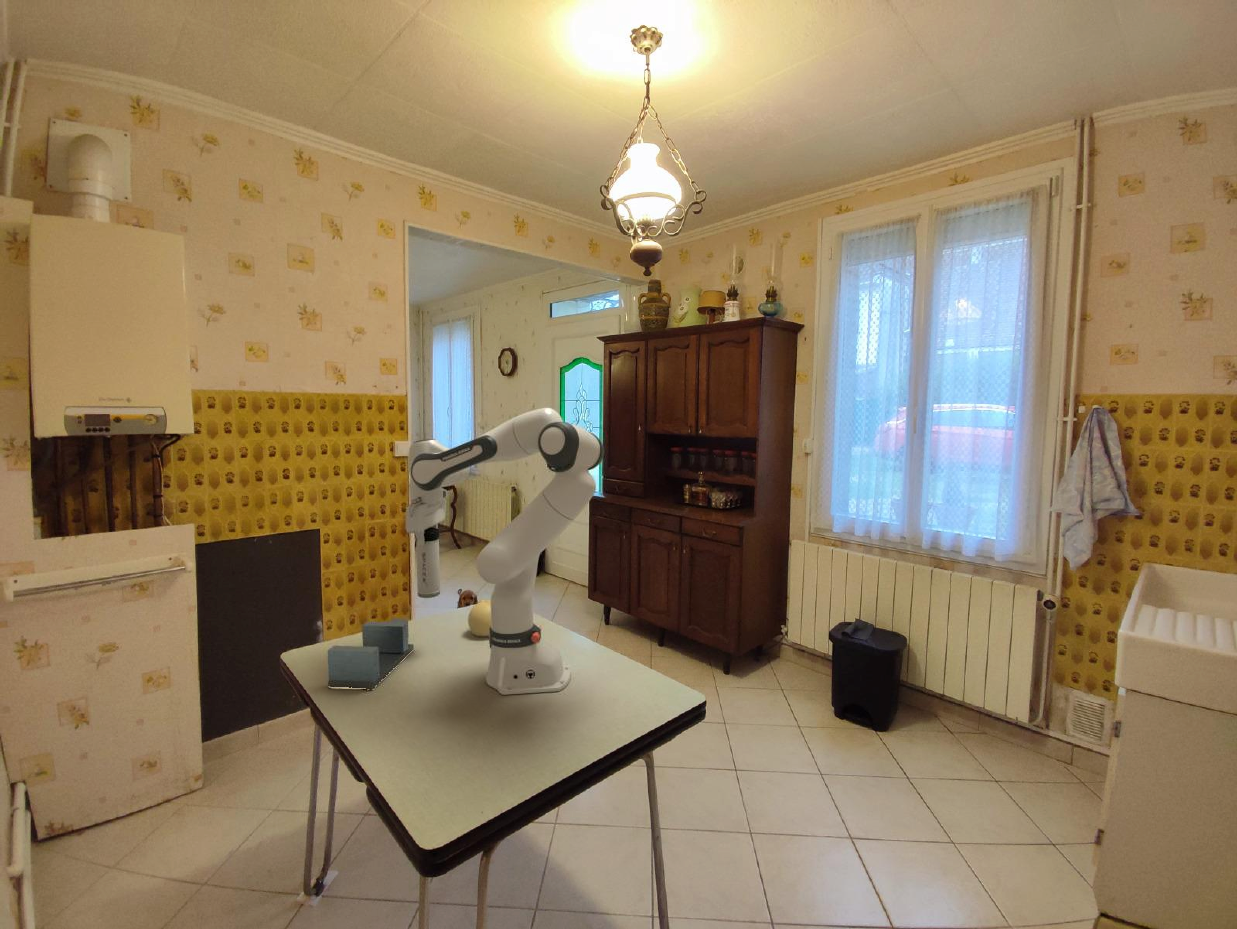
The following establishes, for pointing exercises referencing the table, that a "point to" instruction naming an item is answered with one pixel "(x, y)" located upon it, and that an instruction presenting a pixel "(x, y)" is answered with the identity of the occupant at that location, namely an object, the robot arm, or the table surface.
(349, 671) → the vise
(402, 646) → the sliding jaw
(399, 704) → the table surface
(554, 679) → the robot arm
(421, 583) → the travel mug
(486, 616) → the sculpture
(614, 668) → the table surface
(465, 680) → the table surface
